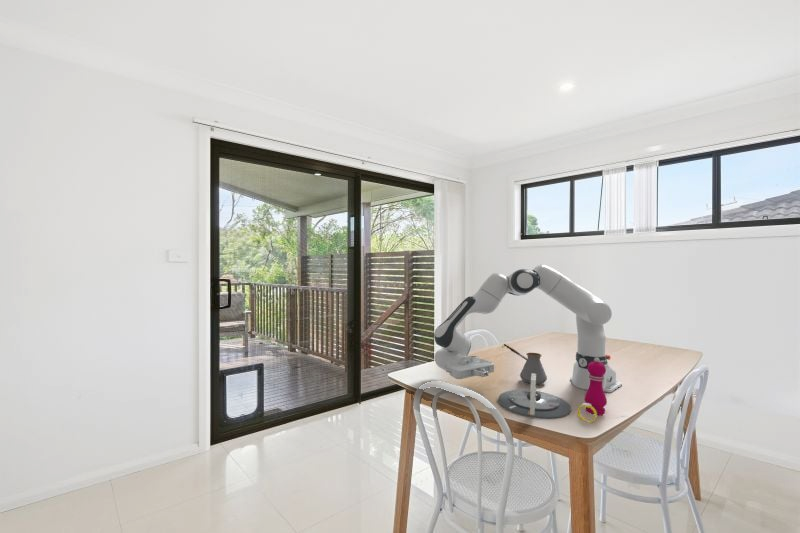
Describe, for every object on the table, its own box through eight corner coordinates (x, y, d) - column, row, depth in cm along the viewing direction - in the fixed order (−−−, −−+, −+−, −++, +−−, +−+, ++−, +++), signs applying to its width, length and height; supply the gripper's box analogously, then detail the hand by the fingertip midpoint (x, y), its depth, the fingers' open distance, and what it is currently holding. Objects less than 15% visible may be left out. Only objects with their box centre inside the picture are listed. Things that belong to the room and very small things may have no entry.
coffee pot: (551, 383, 171) (552, 349, 171) (539, 389, 163) (540, 354, 163) (508, 372, 186) (509, 341, 186) (495, 377, 178) (496, 345, 178)
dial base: (528, 388, 163) (528, 385, 163) (585, 409, 141) (585, 406, 141) (484, 399, 149) (484, 396, 149) (539, 424, 127) (540, 420, 127)
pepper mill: (609, 417, 135) (611, 360, 134) (587, 414, 136) (589, 359, 136) (602, 409, 142) (604, 355, 141) (581, 407, 143) (583, 354, 143)
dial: (511, 390, 157) (512, 358, 157) (558, 396, 150) (559, 363, 150) (504, 414, 133) (505, 376, 132) (560, 423, 126) (562, 383, 126)
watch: (576, 420, 132) (576, 403, 132) (579, 418, 134) (578, 401, 134) (595, 424, 128) (594, 406, 128) (598, 422, 130) (597, 404, 130)
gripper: (443, 362, 157) (466, 370, 145) (479, 355, 168) (503, 363, 156) (443, 377, 157) (465, 387, 145) (479, 369, 168) (503, 378, 156)
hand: (485, 374), depth 151 cm, fingers closed
